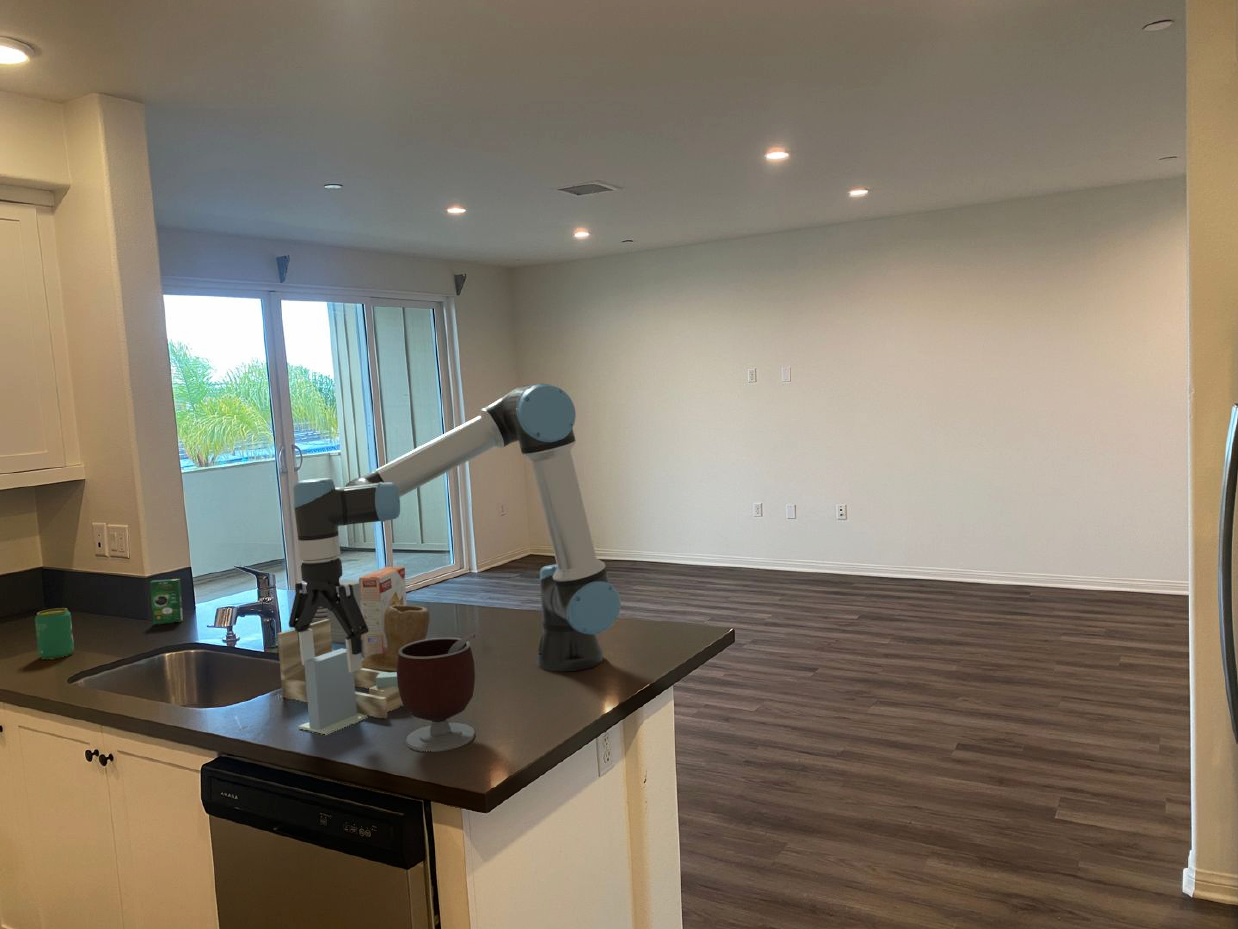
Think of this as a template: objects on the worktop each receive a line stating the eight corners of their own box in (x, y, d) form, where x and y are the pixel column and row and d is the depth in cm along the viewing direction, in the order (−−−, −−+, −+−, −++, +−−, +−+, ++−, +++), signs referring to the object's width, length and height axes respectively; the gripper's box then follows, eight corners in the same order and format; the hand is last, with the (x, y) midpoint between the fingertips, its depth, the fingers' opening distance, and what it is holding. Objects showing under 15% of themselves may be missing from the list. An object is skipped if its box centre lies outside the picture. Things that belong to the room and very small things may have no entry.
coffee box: (184, 620, 272) (180, 577, 271) (182, 622, 269) (178, 579, 268) (155, 623, 270) (151, 580, 269) (152, 625, 267) (148, 582, 266)
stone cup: (443, 664, 212) (439, 601, 211) (412, 679, 201) (408, 613, 200) (391, 659, 218) (386, 598, 217) (358, 674, 207) (353, 610, 206)
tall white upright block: (356, 714, 179) (351, 650, 178) (319, 729, 171) (314, 662, 170) (346, 712, 180) (341, 648, 179) (309, 727, 173) (304, 660, 172)
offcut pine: (409, 692, 186) (408, 680, 186) (383, 703, 180) (382, 691, 180) (396, 689, 188) (395, 678, 188) (369, 700, 183) (368, 688, 182)
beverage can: (78, 654, 238) (74, 610, 237) (44, 662, 232) (39, 616, 232) (69, 649, 244) (64, 606, 243) (35, 657, 238) (30, 612, 237)
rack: (430, 698, 188) (426, 632, 187) (383, 719, 177) (378, 649, 176) (331, 679, 204) (326, 619, 203) (282, 697, 193) (277, 633, 192)
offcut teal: (401, 685, 183) (400, 676, 183) (376, 687, 183) (375, 678, 183) (404, 681, 186) (403, 671, 186) (380, 682, 186) (379, 673, 186)
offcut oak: (417, 702, 188) (416, 690, 187) (385, 716, 180) (384, 704, 180) (399, 699, 190) (398, 687, 190) (367, 713, 182) (366, 701, 182)
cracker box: (386, 664, 215) (380, 577, 213) (363, 663, 216) (356, 577, 214) (411, 647, 228) (405, 565, 227) (389, 647, 230) (383, 566, 228)
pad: (367, 718, 178) (367, 715, 178) (326, 735, 169) (326, 732, 169) (340, 712, 182) (340, 709, 182) (299, 729, 174) (298, 726, 174)
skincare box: (327, 643, 237) (322, 583, 235) (345, 635, 243) (340, 578, 242) (353, 644, 234) (348, 584, 232) (370, 637, 240) (366, 578, 239)
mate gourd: (386, 749, 161) (378, 640, 159) (429, 722, 174) (422, 620, 172) (461, 758, 155) (454, 644, 154) (500, 728, 168) (493, 623, 167)
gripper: (380, 557, 170) (391, 667, 171) (294, 552, 183) (305, 654, 185) (349, 566, 163) (360, 679, 165) (263, 560, 177) (274, 665, 179)
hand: (331, 666), depth 175 cm, fingers open, 13 cm apart
